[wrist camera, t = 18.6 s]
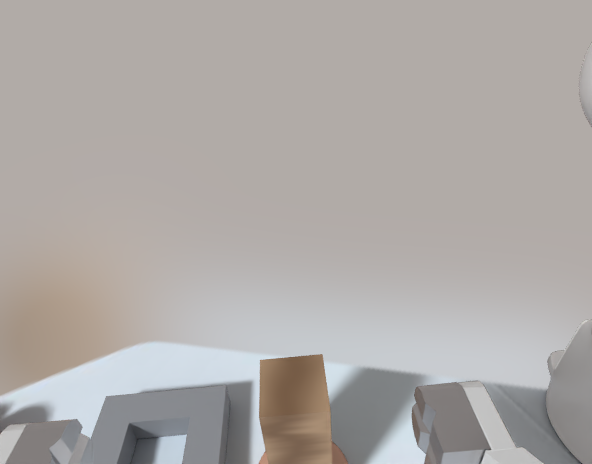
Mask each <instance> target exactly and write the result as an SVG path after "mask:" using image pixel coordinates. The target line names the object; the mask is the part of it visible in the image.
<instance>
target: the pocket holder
mask: <svg viewBox="0 0 592 464" xmlns="http://www.w3.org/2000/svg"><path fill="white" fill-rule="evenodd" d="M229 411H230V399H229V395H228V391H227V387H226V385H222V386H211V387H201V388H190V389H179V390H169V391H158V392H147V393H137V394H126V395H115V396H106V398H105V401H104V404H103V407H102V409H101V412H100V415H99V418H98V420H97V423H96V426H95V428H94V431H93V434H92V437H91V439H90V440H91V441H92V443H93V448H94V460H93V464H131V460H132V457H133V453H134V449H135V445H136V442H137V439H143V438H154V437H164V436H174V435H185V434H187V438H186V444H185V450H184V456H183V462H182V464H225V461H226V448H227V436H228V424H229Z"/></svg>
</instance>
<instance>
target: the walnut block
mask: <svg viewBox="0 0 592 464" xmlns="http://www.w3.org/2000/svg"><path fill="white" fill-rule="evenodd" d="M259 419H260V424H261V429H262V434H263V439H264V444H265V449H266V454H267V460H268V464H332V441H331V412H330V404H329V397H328V390H327V383H326V376H325V369H324V362H323V355H322V354H320V355H309V356H298V357H288V358H277V359H266V360H260V402H259Z"/></svg>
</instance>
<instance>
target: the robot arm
mask: <svg viewBox="0 0 592 464" xmlns="http://www.w3.org/2000/svg"><path fill="white" fill-rule="evenodd" d="M579 97H580V102H581V106H582V109H583V111H584V114H585V116H586V118H587V120H588V122H589V124H590V125H591V126H592V42H591V44H590V46H589V48H588V50H587V52H586V55H585V57H584V60H583V64H582V67H581V71H580V77H579ZM548 368H549V372H550V375H551V381H550V384H549V387H548V390H547V393H546V408H547V413H548V416H549V419H550V422H551V424H552V426H553V428H554V430H555V432H556V433H557V435H558V436H559V438H560V439H561V441H562V442H563V443H564V445H565V446H566V447H567V448H568V449H569V451H570V452H571V453H572V454H573V455H574V456H575V457H576V458H577V459H578V460H579V461H580V462H581V463H582V464H592V319H591V320H585V321H583V322H582V323H581V324H580V326H579V328H578V329H577V331H576V332H575V334H574V336H573V337H572V339H571V341H570V343H569V344H568V346H567V348H566V349H565V350H561V351H555V352H553V353H551V355H550V357H549V358H548ZM414 397H415V400H416V404H415V405H414V406H413V407H412V425H413V430H414V435H415V438H416V442H417V445H418V447H419V448H420V449H421V450H422V451H423V452H424V453H425V454H426V457H425V463H424V464H544V463H542V462H541V461H540V460H539V459H537V458H536V457H535V456H534V455H532V454H531V453H530V452H529V451H527V450H526V449H525V448H524V447H516V446H515V444H514V442H513V440H512V438H511V436H510V434H509V432H508V430H507V428H506V426H505V425H504V423H503V421H502V419H501V417H500V415H499V413H498V411H497V409H496V407H495V405H494V403H493V401H492V400H491V398H490V396H489V394H488V392H487V390H486V388H485V386H484V385H483V384H482V383H481V382H480V381H468V382H459V383H457V382H453V383H444V384H436V385H427V386H418V387H417V388H416V389H415V394H414ZM81 430H82V425H81V424H80V422H79V421H78V420H77V419H73V420H61V421H50V422H38V423H24V424H14V425H9V426H8V427H6V428H5V429H4V430H3V431H2V432H1V434H0V464H93V460H94V448H93V443H92V441H91V440H90V438H89V437H87V436H85V435H83V434H81Z"/></svg>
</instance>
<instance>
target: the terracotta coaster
mask: <svg viewBox="0 0 592 464" xmlns="http://www.w3.org/2000/svg"><path fill="white" fill-rule="evenodd" d="M259 464H268V460H267V454H266V451H265V453H264V454H263V456H262V458H261V460H260V462H259ZM332 464H348V462H347V460H346V458H345V456H344V454H343V453H342V451H341V450H340V449H339V448H338V446H337V445H336V444H334V443H333V442H332Z"/></svg>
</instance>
